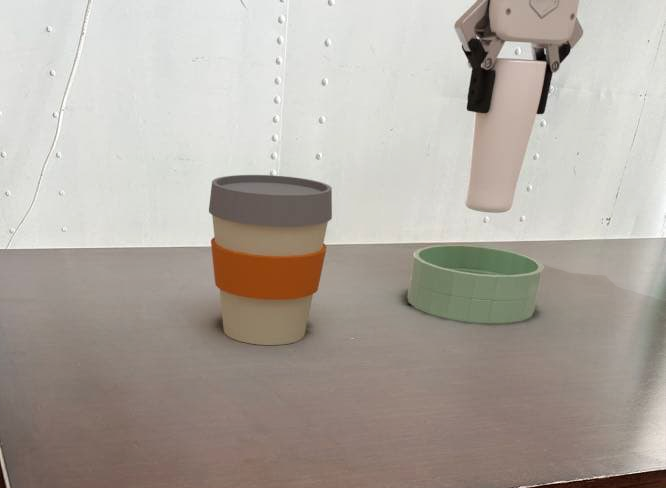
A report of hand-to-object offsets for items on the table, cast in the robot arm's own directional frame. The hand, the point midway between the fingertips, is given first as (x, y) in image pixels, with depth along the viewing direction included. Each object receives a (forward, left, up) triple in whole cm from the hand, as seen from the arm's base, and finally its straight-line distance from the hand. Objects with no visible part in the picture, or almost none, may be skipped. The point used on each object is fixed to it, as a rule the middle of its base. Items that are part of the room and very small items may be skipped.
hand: (505, 111), depth 89 cm
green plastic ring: (0, 0, -22) cm, 22 cm away
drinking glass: (0, 0, -10) cm, 10 cm away
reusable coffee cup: (+24, +15, -22) cm, 36 cm away
